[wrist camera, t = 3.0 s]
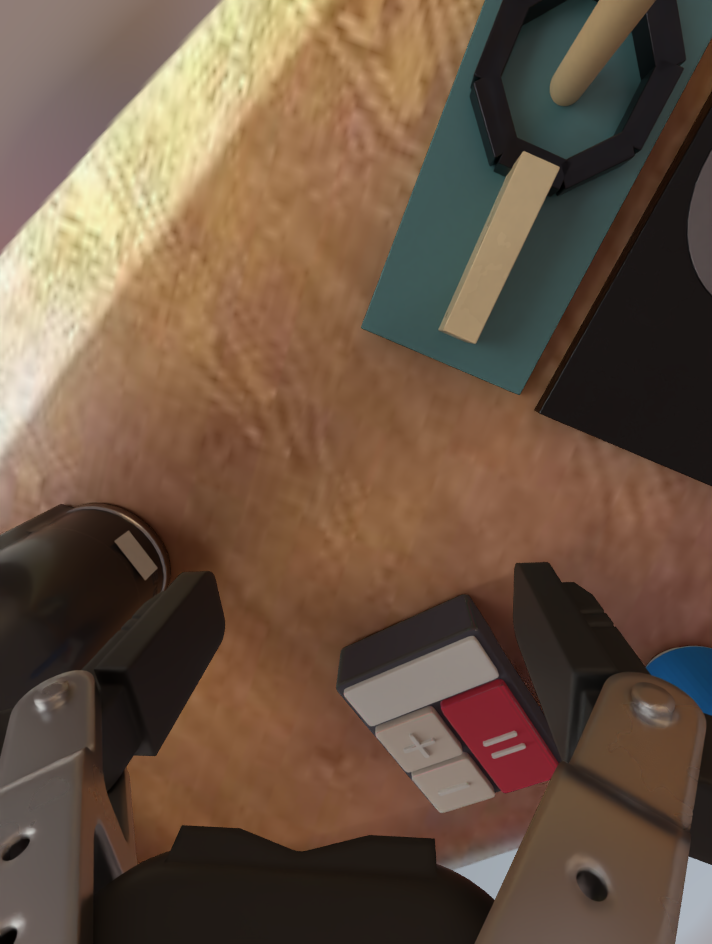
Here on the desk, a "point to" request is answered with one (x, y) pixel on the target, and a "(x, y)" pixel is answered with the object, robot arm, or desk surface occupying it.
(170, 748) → the desk surface
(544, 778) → the calculator
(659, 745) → the robot arm
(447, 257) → the peg stand
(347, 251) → the desk surface
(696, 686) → the beverage can
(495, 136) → the hoop
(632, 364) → the hob plate
